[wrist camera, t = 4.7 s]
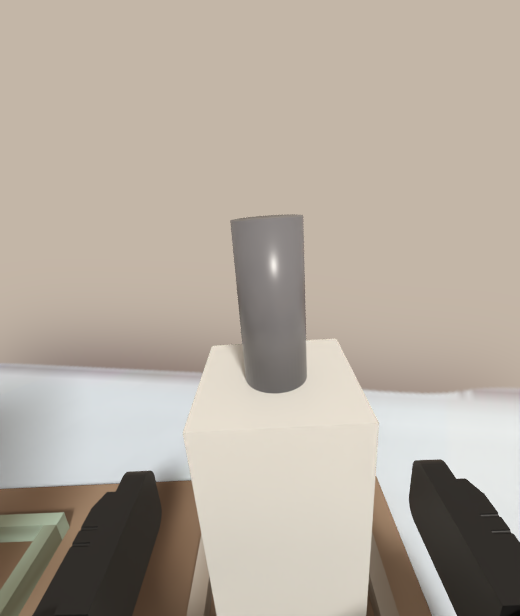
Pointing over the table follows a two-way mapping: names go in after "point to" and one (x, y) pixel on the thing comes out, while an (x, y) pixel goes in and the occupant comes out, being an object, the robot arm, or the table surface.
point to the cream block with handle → (281, 447)
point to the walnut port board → (165, 553)
